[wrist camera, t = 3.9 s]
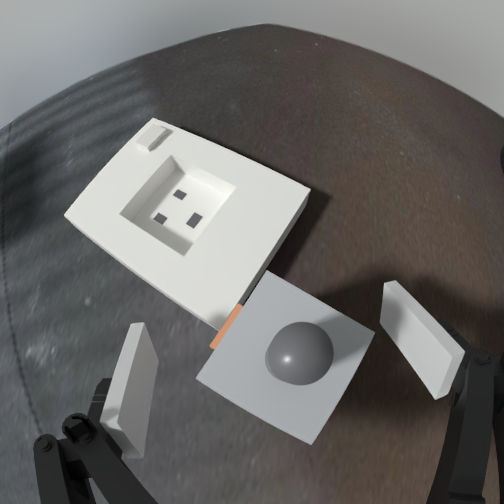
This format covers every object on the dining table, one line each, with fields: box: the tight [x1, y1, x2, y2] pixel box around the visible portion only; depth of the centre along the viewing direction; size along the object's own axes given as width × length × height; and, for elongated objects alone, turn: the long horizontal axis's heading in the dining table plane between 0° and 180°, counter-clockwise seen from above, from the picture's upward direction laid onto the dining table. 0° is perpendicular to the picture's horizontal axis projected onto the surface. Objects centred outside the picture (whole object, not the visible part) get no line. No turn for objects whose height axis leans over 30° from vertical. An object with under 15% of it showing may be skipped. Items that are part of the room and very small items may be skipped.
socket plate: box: [64, 118, 311, 331], centre depth 23 cm, size 16×12×3 cm
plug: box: [196, 271, 375, 445], centre depth 14 cm, size 6×5×13 cm
